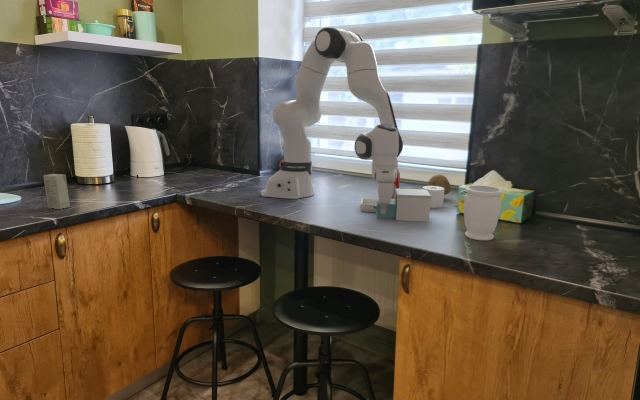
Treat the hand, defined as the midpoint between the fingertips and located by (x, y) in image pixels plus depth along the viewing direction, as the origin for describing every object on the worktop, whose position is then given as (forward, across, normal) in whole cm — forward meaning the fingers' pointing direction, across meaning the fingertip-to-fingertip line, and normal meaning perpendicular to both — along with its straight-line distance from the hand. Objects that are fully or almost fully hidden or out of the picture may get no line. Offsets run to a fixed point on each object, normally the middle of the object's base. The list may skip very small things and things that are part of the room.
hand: (382, 211), depth 160 cm
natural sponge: (+2, -31, +24) cm, 40 cm away
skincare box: (+2, +5, -118) cm, 118 cm away
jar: (+2, +20, +28) cm, 35 cm away
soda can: (+2, -30, +4) cm, 30 cm away
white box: (+2, 0, +10) cm, 10 cm away
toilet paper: (+2, -18, +18) cm, 26 cm away
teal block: (+2, 0, +4) cm, 4 cm away
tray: (+2, -11, 0) cm, 11 cm away
